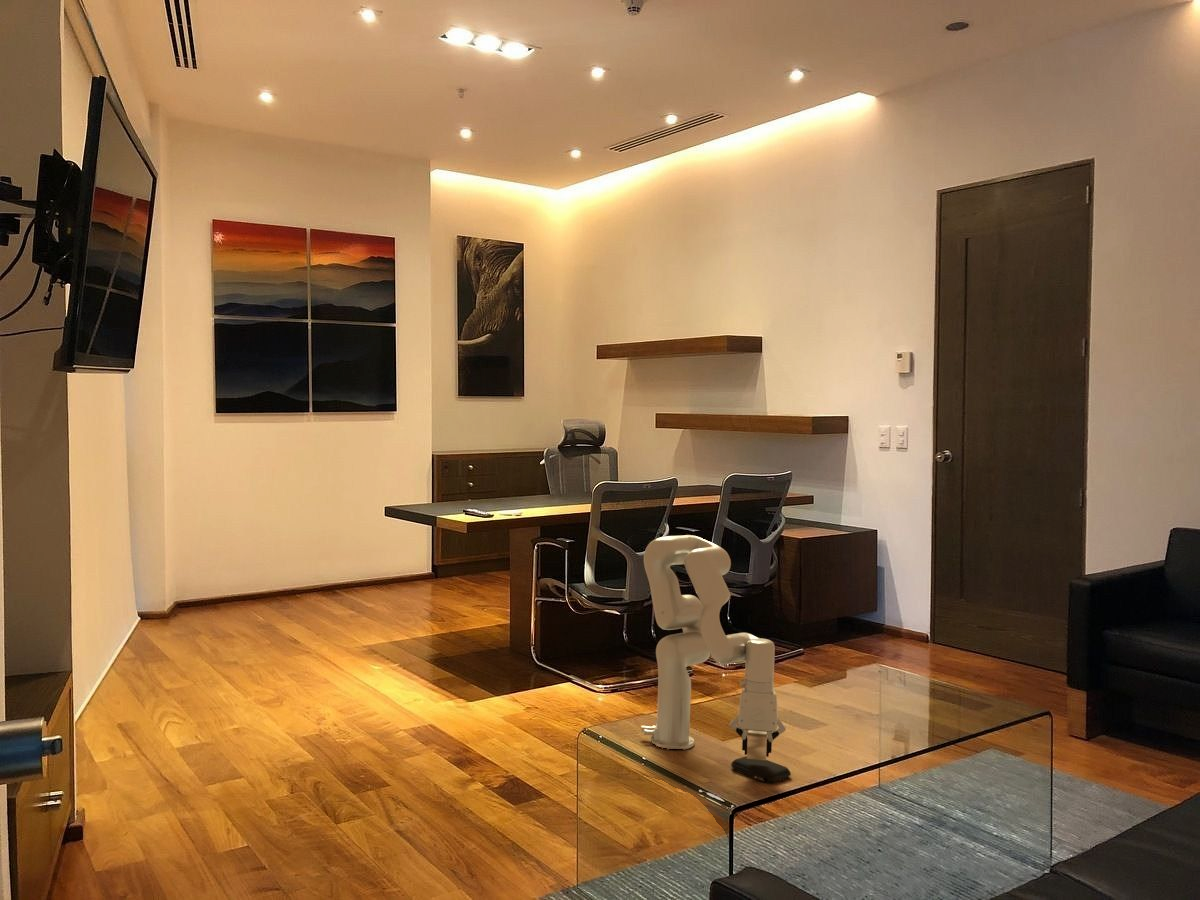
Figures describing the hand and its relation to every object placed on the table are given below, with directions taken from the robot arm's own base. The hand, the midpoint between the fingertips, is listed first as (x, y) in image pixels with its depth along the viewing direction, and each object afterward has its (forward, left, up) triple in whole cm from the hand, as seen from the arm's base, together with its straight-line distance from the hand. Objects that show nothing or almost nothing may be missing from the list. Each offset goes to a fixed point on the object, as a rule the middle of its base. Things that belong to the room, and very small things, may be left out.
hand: (756, 753), depth 250 cm
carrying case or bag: (+1, +1, -6) cm, 7 cm away
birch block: (0, 0, -1) cm, 1 cm away
